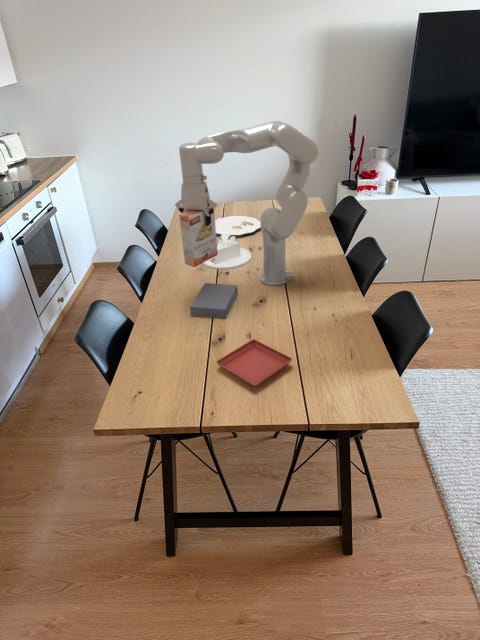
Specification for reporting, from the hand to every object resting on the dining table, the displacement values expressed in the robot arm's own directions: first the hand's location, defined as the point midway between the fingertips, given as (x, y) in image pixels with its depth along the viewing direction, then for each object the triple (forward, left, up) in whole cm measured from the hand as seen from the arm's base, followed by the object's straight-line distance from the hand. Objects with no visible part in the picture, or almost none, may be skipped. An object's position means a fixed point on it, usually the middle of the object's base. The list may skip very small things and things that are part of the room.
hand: (198, 224), depth 182 cm
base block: (-7, +8, -31) cm, 32 cm away
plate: (+5, -75, -31) cm, 82 cm away
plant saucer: (-31, +46, -31) cm, 63 cm away
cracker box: (0, 0, -15) cm, 15 cm away
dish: (0, -36, -31) cm, 48 cm away
